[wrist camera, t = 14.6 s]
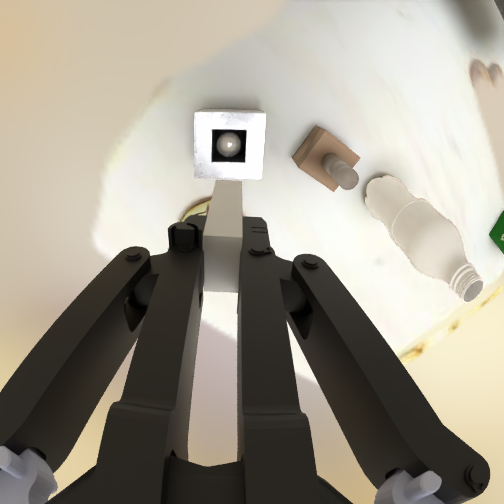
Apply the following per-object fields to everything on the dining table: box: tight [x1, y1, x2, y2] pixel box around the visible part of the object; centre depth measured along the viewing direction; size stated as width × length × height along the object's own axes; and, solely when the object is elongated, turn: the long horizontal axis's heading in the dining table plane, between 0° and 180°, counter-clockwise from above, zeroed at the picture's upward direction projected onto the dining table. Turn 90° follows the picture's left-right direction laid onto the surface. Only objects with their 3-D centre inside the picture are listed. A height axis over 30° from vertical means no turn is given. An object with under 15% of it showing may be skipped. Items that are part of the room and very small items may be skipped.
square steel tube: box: [194, 109, 266, 180], centre depth 34 cm, size 8×8×5 cm
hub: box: [215, 129, 246, 157], centre depth 35 cm, size 6×6×6 cm
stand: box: [292, 125, 360, 192], centre depth 34 cm, size 6×6×12 cm
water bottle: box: [365, 175, 484, 303], centre depth 32 cm, size 7×7×25 cm
